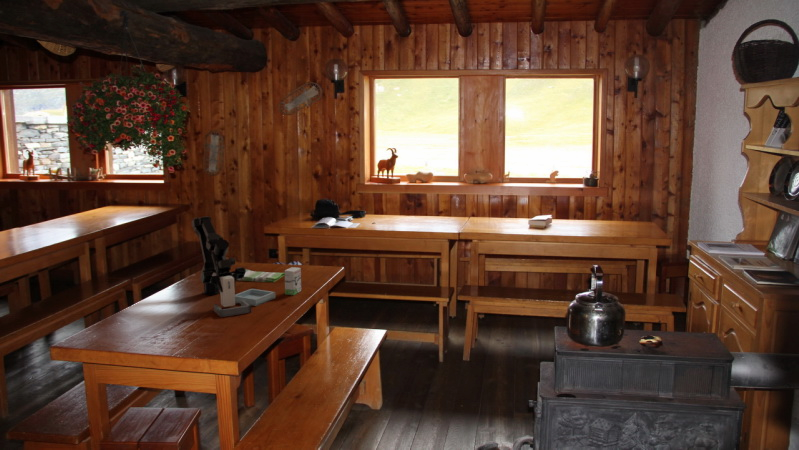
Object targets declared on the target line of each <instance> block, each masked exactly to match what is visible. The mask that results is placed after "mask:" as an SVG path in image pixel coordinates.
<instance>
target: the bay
mask: <svg viewBox="0 0 799 450" xmlns="http://www.w3.org/2000/svg"><path fill="white" fill-rule="evenodd" d="M213 311H214V313H216V314H217V316H219V317H220V318H225V317H230V316H231V317H232V316H237V315H244V314H250V313H252V305H249V304H248V303H247V302H245V301H244V300H241V304H240V306H235V307H230V308H223V309H222V307H220V306H219V305H218V304H216V303H215V304H213Z"/></svg>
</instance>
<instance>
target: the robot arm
mask: <svg viewBox="0 0 799 450" xmlns="http://www.w3.org/2000/svg"><path fill="white" fill-rule="evenodd" d="M191 228H192V229H193V231H194V233H195V234H196V235H197V236H198V239H199V243H200V248H201V253H202V258H203V262H204V263H203V266H202V268H201V269H202V270H201V272H200V276H199V277H200V282H202V284H203V287H204V288H203V290H204V291H203V292H201V295H207V296H214V295H217V294H220V291H221V292H223V289H222V286H221V283H220V277H223V276H232V277H233V278H234V287H235V288H236V282H237V279H240V278H243V277H244V275H245V273H246V268H245V267H244V266H242V267H241V266H239V267H235V269H234V271H231V269H232V268H231V267H233V266H235V265H236V261H235V260H236V259H235V257H230V258H229V259H227V257H226V255H227V254H228V251H229V250H228V249H229V246H230V243H229V242H228V240H226V239H225V238H224V237H223V236H221V235H220V234H219V233H217V232H216V229H215V227H214V225H213V223H212V218H211V216H209V215H207V216H206V215H205V216H200V217H194V218H193V219H192V220H191Z"/></svg>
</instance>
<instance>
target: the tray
mask: <svg viewBox="0 0 799 450" xmlns="http://www.w3.org/2000/svg"><path fill="white" fill-rule="evenodd" d="M275 299H276V291H270V290H265V289H262V290H261V289H257V288H250V289H247V290H244V291H240V292H239V293H236V294H235V304H240V305H241V300H244V301H245V302H247V303H248V304H249V305H251V306H254V307H257V306H261V305H263V304H265V303H267V302H270V301H272V300H275Z"/></svg>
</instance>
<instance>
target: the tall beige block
mask: <svg viewBox="0 0 799 450" xmlns="http://www.w3.org/2000/svg"><path fill="white" fill-rule="evenodd" d="M220 283H221V286H222V289H223V292H221V291H220V290H219V291H220V293H219V294H220V304H221V306H222V307H223V308H225V307H232V306H233V307H234V306H236V303H235V295H236V294H235V293H236V292H235V291H236V286H235V287H234V278H233V277H232V276H223V277H220Z"/></svg>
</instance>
